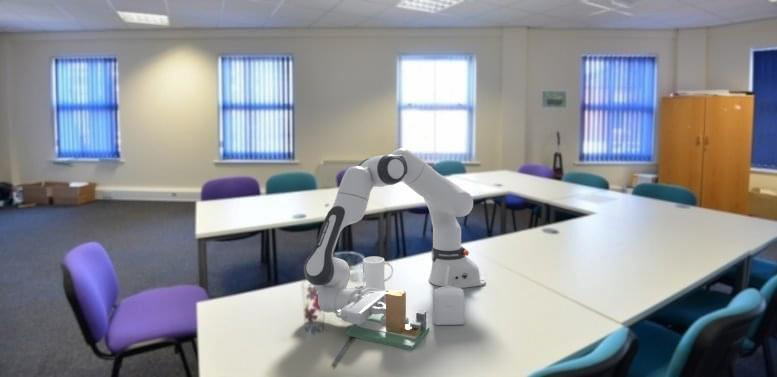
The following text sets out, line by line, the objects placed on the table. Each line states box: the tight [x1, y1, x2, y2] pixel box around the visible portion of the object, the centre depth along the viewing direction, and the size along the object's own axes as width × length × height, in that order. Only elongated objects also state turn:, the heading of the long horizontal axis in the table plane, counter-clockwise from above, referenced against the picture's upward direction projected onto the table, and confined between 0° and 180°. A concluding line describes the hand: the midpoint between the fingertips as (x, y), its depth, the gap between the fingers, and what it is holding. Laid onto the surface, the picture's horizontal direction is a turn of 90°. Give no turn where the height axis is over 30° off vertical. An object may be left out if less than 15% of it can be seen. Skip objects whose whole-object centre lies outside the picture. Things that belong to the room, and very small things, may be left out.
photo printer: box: [432, 286, 465, 326], centre depth 157 cm, size 10×4×12 cm, turn 90°
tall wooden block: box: [385, 288, 420, 336], centre depth 148 cm, size 10×4×12 cm, turn 65°
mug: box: [362, 255, 394, 291], centre depth 187 cm, size 12×8×12 cm
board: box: [346, 309, 430, 351], centre depth 151 cm, size 22×14×6 cm, turn 65°
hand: (388, 310), depth 150 cm, fingers closed, pressing on tall wooden block
